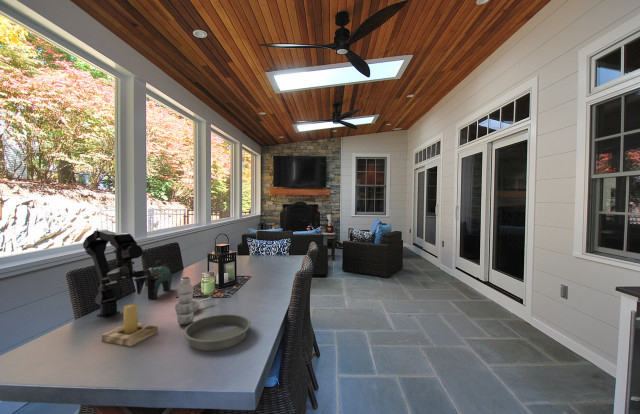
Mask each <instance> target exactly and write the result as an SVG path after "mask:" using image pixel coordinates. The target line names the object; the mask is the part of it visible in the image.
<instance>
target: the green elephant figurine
mask: <svg viewBox="0 0 640 414" xmlns="http://www.w3.org/2000/svg"><path fill="white" fill-rule="evenodd" d="M158 262H159V263H161V260H157V261H155V267H154V266H152V267H148V269H149V270H150V271H151V275H148V278H146V280H147V300H156V299H157V298H158V291H159V289H160V285H161V284H162V291H163V292H170V290H171V287H172V280H173V279H172V278H173V277H172V272H171V270H170V268H169V266H168V264H166V263H165V264H162V265H161V266H159V265H158V266H157V263H158Z"/></svg>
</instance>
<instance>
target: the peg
mask: <svg viewBox="0 0 640 414" xmlns="http://www.w3.org/2000/svg"><path fill="white" fill-rule="evenodd" d="M138 308H139V305H138V304H136V303H132V304H127V305H125V306H123V325H124V334H126V335H131V334H133V333H135V332H137V331H138V323H139V322H138V321H139V319H138V314H139V313H138V311H139V310H138Z"/></svg>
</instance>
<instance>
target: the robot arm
mask: <svg viewBox="0 0 640 414" xmlns="http://www.w3.org/2000/svg"><path fill="white" fill-rule="evenodd" d="M108 243H109V244H110V246H112V247H114V248H115V249H114V250H113V254H115V260H116V261H115V262H116V264H114V269H112V270H111V268H110V265H109V263H108V259H107V257H106V254H105V251H106V249H107V245H108ZM82 247H83V249H84V250H85V253H86V254H87V255H89V257H92V260H93V263H94V266H95V269H96V270H95V271H96V272H97V276H98V279H99V282H100V285H99V287H98V289H97V290H98V293H97V295H96V296H95V298H94V301H95V304H97V305H99V313H98V314H96V316H97V317H102V318H109V317H111V316H114V315H117V314H119V313H121V310H118V302H117V301H120V300H121V299H122V295H123V288H122V286H121V282H120V281H121V280H126V279H132V278H134V279H133V281H134V282H135V285H136V292H137V295H141V293H142V290H143V287H144V284H145V282H146V280H147V278H148V275H151V271H150V270H149V268H148V269H142V270H138V271H137V270H134V265H135V261H133V260H135V259H139V258H140V257H141V256H142V255H143V252H144V250H143V248H142V247H141V246H140V245H138V244H137V241H136V240H135V238H134V237H133V235H132V234H131V233H130V232H122V233H121V232H120V233H118V232H115V231H111V230H108V229H106V228H104V229H96V230H94V231H93V232H92V233H91V234H89V235H87V237H85V239H84V241H83V243H82Z"/></svg>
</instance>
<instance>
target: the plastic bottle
mask: <svg viewBox="0 0 640 414" xmlns="http://www.w3.org/2000/svg"><path fill="white" fill-rule="evenodd" d="M176 292H177V299H178V303H179V311H178V313H177V318H176V320H177V323H178V324H179V325H181V326H185V325H186V326H187V325H190V324H191V323H193V322H194V319H195V315H194V314H195V313H193V307H192V301H193V300H194V298H193V297H194V287H193V285H192V284H191V277H190V276H185V277H181V278H180V285H179V287H178V288H177V291H176Z"/></svg>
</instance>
